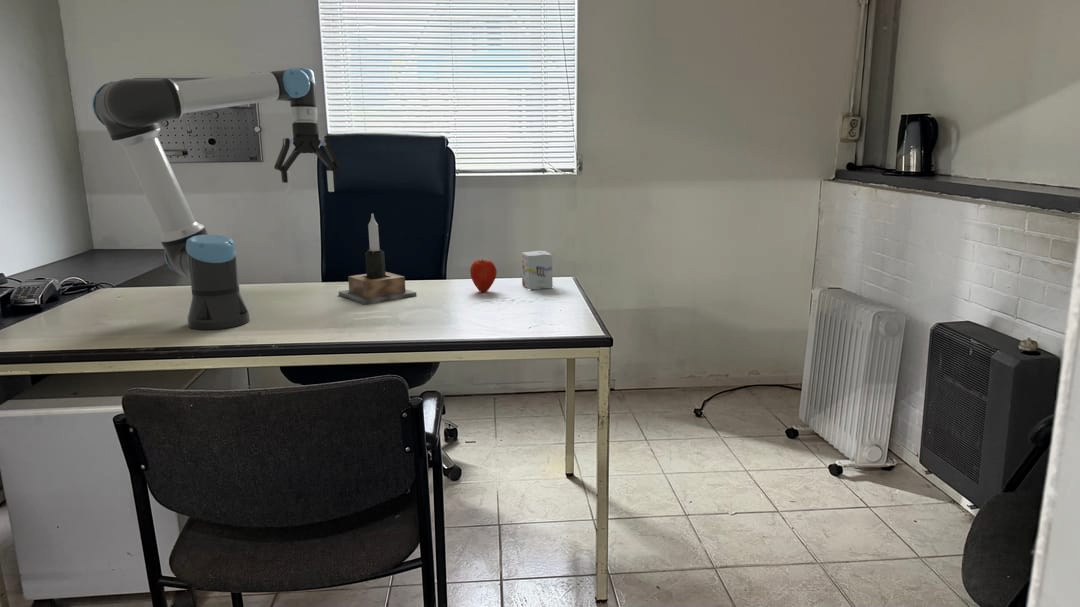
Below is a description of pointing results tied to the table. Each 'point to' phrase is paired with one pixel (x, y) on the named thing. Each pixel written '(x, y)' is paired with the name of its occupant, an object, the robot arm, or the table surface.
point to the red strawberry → (483, 274)
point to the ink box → (537, 269)
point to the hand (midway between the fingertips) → (310, 192)
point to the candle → (374, 253)
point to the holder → (376, 288)
